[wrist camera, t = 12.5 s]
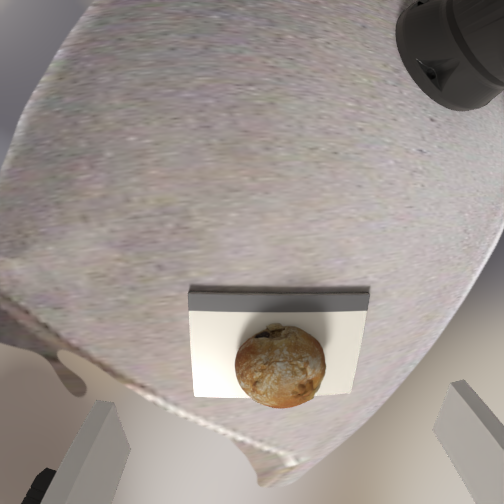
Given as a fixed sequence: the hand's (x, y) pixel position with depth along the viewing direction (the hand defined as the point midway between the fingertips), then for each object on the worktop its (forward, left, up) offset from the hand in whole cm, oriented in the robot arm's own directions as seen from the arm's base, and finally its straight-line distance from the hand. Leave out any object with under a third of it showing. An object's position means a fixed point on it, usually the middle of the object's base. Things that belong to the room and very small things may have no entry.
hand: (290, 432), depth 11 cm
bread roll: (-3, +12, -24) cm, 27 cm away
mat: (-3, +11, -24) cm, 26 cm away
